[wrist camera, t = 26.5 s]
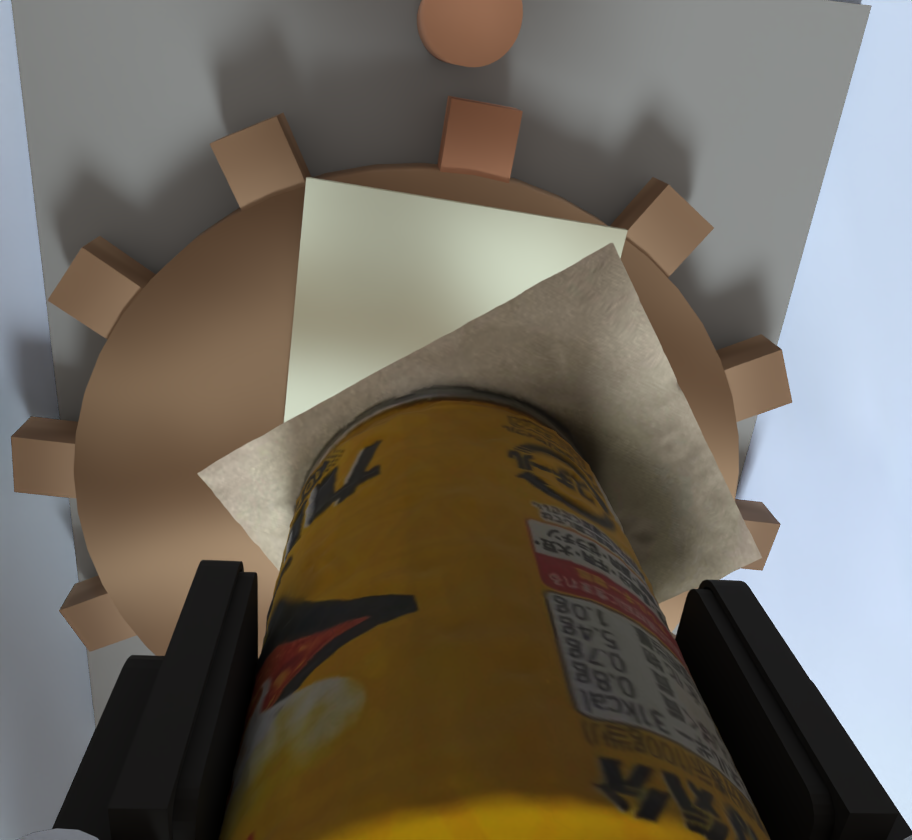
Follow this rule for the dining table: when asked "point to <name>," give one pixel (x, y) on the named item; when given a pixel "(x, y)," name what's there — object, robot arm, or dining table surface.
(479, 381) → the condiment
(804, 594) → the dining table surface
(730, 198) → the turntable base
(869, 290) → the dining table surface
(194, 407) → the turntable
